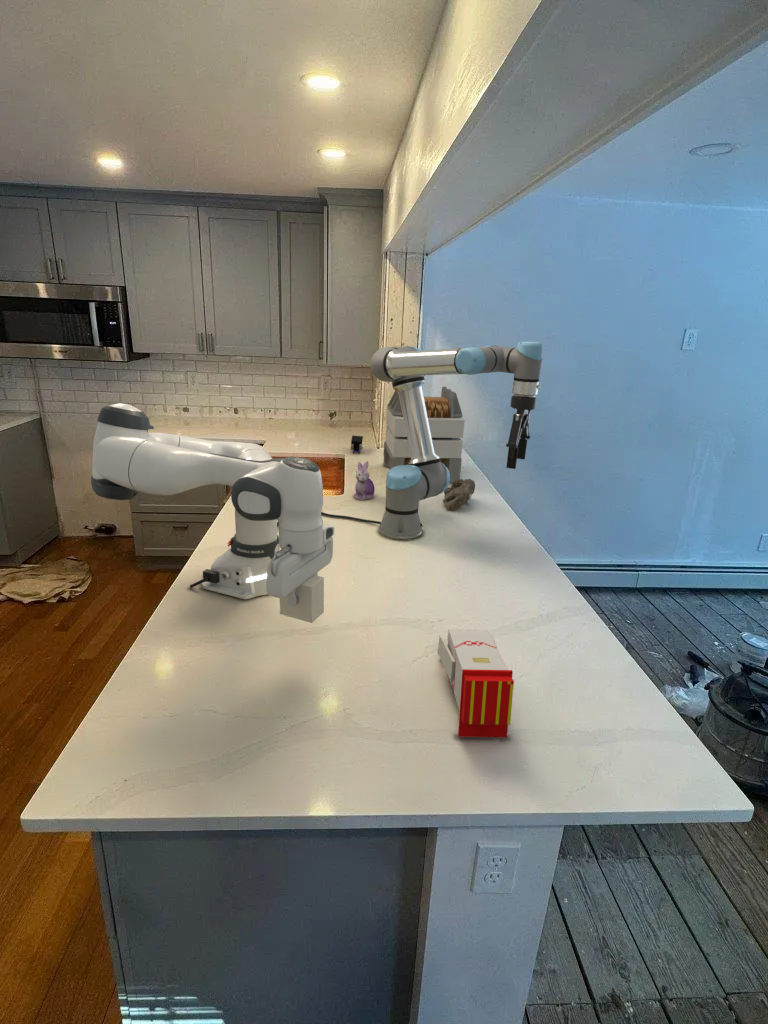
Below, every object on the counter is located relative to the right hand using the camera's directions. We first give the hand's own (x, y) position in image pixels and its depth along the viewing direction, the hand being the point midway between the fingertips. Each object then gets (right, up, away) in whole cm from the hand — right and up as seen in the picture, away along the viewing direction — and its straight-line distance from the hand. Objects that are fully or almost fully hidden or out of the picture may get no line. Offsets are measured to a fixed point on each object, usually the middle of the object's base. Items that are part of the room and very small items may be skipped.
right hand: (515, 463), depth 178 cm
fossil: (-11, -12, +56) cm, 58 cm away
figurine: (-50, -9, +58) cm, 77 cm away
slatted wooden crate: (-24, +4, +97) cm, 100 cm away
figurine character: (-56, +18, +132) cm, 145 cm away
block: (-59, -37, -58) cm, 90 cm away
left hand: (-59, -33, -59) cm, 90 cm away
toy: (-24, -53, -60) cm, 83 cm away
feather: (-79, -18, +31) cm, 87 cm away
